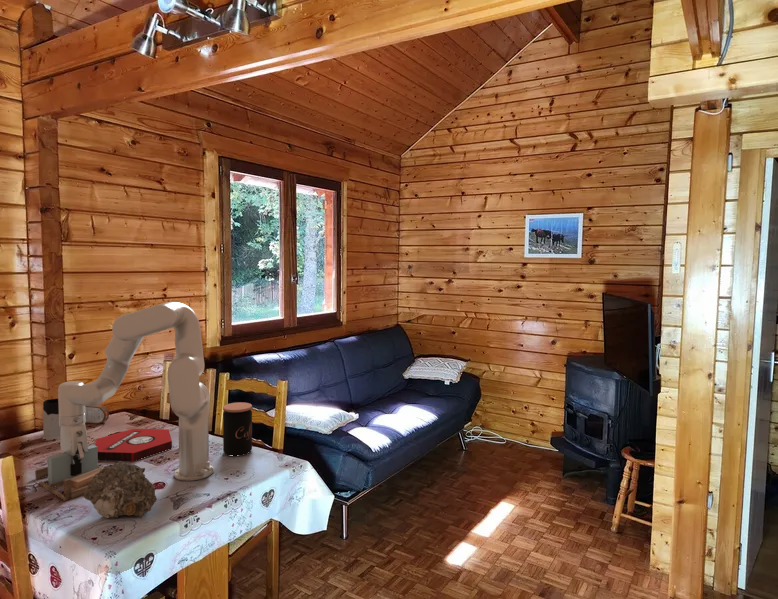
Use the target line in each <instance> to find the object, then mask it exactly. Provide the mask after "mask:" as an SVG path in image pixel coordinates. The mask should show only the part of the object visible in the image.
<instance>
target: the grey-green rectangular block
mask: <svg viewBox="0 0 778 599" xmlns="http://www.w3.org/2000/svg"><path fill="white" fill-rule="evenodd" d="M95 445H96V444H91V445H88V452H87V453H84V452H83V454H84V458H83V459H82V473H81V474H78V475H75V476H71V470H70V464H72V462H71V455H69V454H67V453H65V452H64V451H63V452H61V453H57V454H53V455H50V456H47V467H48V476H47V480H48V483H47V485H49V484H50V485H52V484H55V483H59V482H62V481H63V480H64V479H68V478H70V479H72V478H74V477H77V476H79V475H82V474H85V473H87V472H90V471H92V470H95V469H97V468H98V465H99V460H98V447H97V446H95ZM76 453H77V452H76ZM76 453H75V454H76ZM76 457H77V456H75V457H74V458H76Z"/></svg>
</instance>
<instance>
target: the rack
mask: <svg viewBox="0 0 778 599" xmlns="http://www.w3.org/2000/svg"><path fill="white" fill-rule="evenodd" d="M98 468H100V469H103V468H104V467H103V466H100V465H99V464H98ZM34 470H35V471H34V472H35V474H34V475H35V480H39V479H38V478H40V479H43V478H42V477H44V478H46V477H45V476H47V477H48V466H46V467H42V468H38V469H34ZM46 483H47V484H46ZM39 484H40V485H39ZM38 485H39V486H41V487H42V486H43V489H45V488H46V489H45V490H47V491H48V490H49V491H48V492H50V493H51V492H52V493H51V494H53V493H54V494H55V495H54V494H53V495H54V496H56V495H57V496H58V498H59V497H60V498H59V499H61V500H62V499H63V500H62V501H64V502H65V500H66V501H69V500H72V499H74V498H77V497H80V496H84V495H83V494H84V493H85V491H86V489H87V487H88V485H86V486H83V487H80V488H77V489H73V490H71V479H70V478H68V479H64V480H63V481H62V482H59V483H55V484H52V485H49V484H48V479H47V480H44V481H42V480H41V481H39V482H38ZM59 485H60V486H63V493H61V492H59V491H58V490H56V489H55V488H56V487H59ZM55 486H56V487H55ZM52 487H53V488H52ZM57 496H56V497H57ZM68 499H69V500H68Z"/></svg>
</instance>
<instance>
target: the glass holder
mask: <svg viewBox="0 0 778 599" xmlns="http://www.w3.org/2000/svg"><path fill="white" fill-rule="evenodd" d="M42 403H43V404H42V421H43V422H42V427H43V429H42V431H43V434H42V435H43V436H42V438H43V439H46V440H45V441H54V440H53V439H57V440H60V430H61V426H59V403H58V398H51V399H46V400H43V402H42ZM43 439H42V440H43Z"/></svg>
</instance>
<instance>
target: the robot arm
mask: <svg viewBox="0 0 778 599" xmlns="http://www.w3.org/2000/svg"><path fill="white" fill-rule="evenodd" d="M172 328H173V330H174V346H175V358H174V359H172V361H171V362H170V364H169V366H168V370H167V383H168V392H169V403H170V407H171V410H172V412H173V414H174V415H175V416H177V417H178V465H179V466H178V468H177V469H175V470H174V473H173V475H174V478H175V479H176V480H178V481H184V482H185V481H186V482H187V481H188V482H189V481H190V482H191V481H197V480H202V479H205V478H207V477H209V476H211V475H212V474H213V473H214V467H213V465H211V464H210V460H209V459H210V458H209V456H210V454H209V452H210V451H209V449H210V447H209V445H210V443H209V442H210V440H209V432H210V430H209V429H210V428H209V415H210V403H211V402H210V401H211V398H210V397H211V395H210V391H209V389H208V387H207V386H206V385H205V383H203V382H200V376H202V374H203V373H204V370H205V365H206V364H205V359H204V358H205V357H204V348H203V341H202V330H201V324H200V320H199V318H198V316H197V314H196V312H195V311H194V309H192V308H191V307H190V306H188V305H186V304H184V303H181V302H178V301H166V302H163V303H162V302H161V303H160V304H156V305H152V306H150V307H146V308H143V309H140V310H137V311H133V312H130V313H129V312H128V313H124V314H122V315H119V316H118V317H117V318H115V320H114V321H113V323H112V326H111V329H112V330H111V331H112V334H113V336H112V337H111V339H110V341H109V343H108V344H107V346H106V348H105V350H104V355H105V356H106V363H105V365H104V366H103V368H102V371H101V372H100V374H99V376H98V377H97V379H95V380H93V381H91V382H88V383H84V382H82V381H80V380H72V381H70V380H69V381H66V382H65V381H64V382H62V383H60V384H59V385H58V389H57V391H58V393H57V396H58V397H57V399H58V403H59V426H61V430H60V439H59V440H60V441H59V442H60V443H59V444H60V449H61V451H62V452H63V453H64V452H65V453H67V454H69V455H71V462H72V464H70V470H71V476H75V475H78V474H81V473H82V459H83V458H84V454H83V452H84V453H87V452H88V446H89V442H88V434H87V427H86V423H85V422H86V412H85V406H97V405H102V404H103V403H104V402H105V401H106V400H108V399H110V398H112V397H113V396H114V395H115V393H116V392H117V391H118V389H119V388H120V385H121V384H122V382H123V380H124V379H125V377H126V374H127V373H128V370H129V368H130V364H131V361H132V359H133V358H134V355H135V353H136V352H137V351H138V349H139V348H140V345H141V343H142V342H143V340H144V338H145V337H147V336H151V335H154V334H156V333H160V332H165V331H167V330H169V329H172ZM76 452H77V453H76ZM75 453H76V454H75ZM75 456H77V457H76V458H74V457H75Z"/></svg>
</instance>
